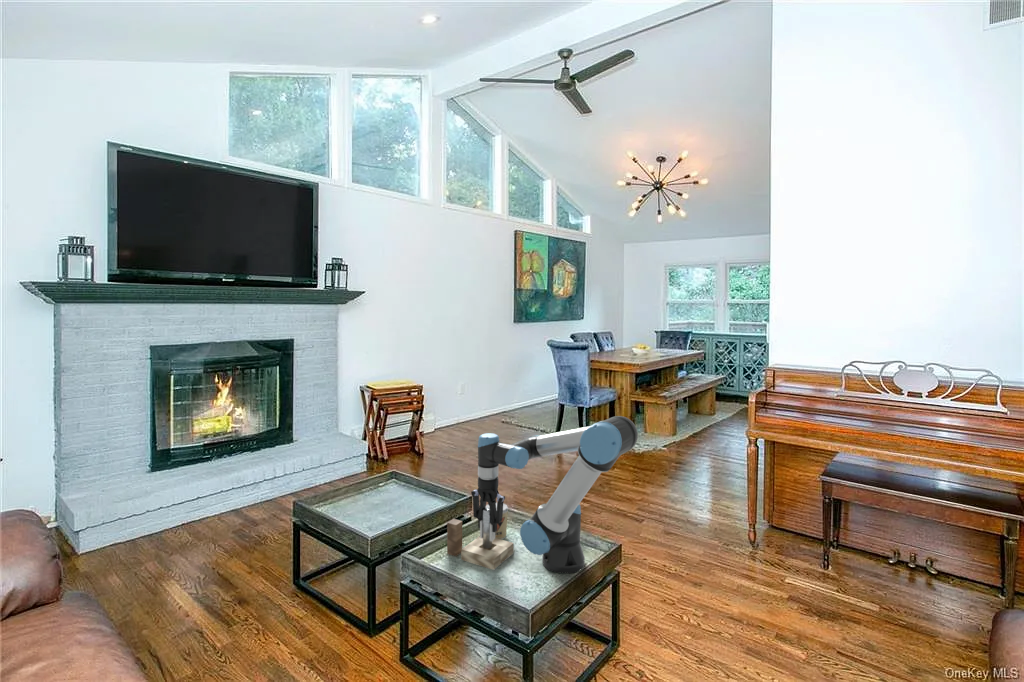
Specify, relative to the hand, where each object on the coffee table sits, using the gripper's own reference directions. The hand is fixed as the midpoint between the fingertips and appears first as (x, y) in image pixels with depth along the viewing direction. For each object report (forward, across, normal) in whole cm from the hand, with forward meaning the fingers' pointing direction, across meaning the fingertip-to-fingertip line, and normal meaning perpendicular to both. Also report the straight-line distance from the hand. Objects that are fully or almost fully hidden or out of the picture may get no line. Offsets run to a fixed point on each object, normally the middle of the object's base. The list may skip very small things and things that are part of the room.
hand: (487, 538), depth 193 cm
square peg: (+7, +12, +4) cm, 14 cm away
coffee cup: (+7, +6, -16) cm, 18 cm away
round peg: (+3, 0, 0) cm, 3 cm away
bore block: (+7, 0, 0) cm, 7 cm away
